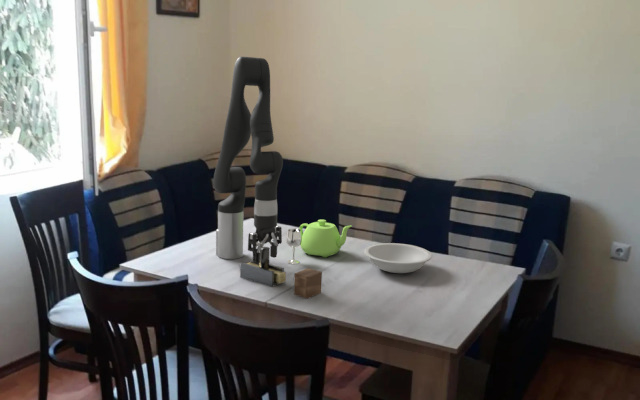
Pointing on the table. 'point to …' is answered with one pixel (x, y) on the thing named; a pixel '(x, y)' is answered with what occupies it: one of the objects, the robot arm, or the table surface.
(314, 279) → the brown wooden cube
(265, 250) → the tube
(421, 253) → the soup bowl
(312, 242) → the teapot
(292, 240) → the wineglass
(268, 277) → the sleeve
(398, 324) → the table surface
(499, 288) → the table surface
